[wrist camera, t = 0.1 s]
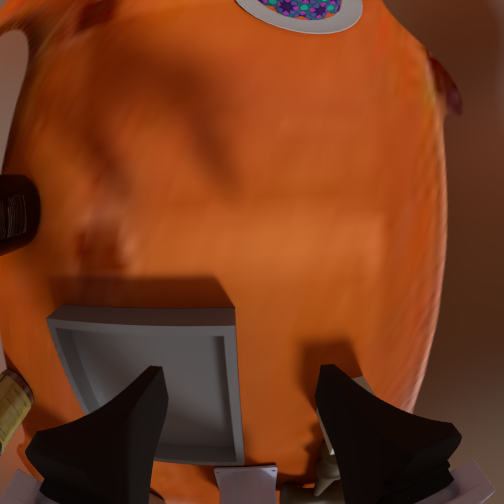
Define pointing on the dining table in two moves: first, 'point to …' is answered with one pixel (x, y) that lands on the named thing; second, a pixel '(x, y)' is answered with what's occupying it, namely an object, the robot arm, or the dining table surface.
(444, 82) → the dining table surface
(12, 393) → the sauce bottle
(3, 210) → the supplement bottle
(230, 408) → the tray
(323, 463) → the kendama
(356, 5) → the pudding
